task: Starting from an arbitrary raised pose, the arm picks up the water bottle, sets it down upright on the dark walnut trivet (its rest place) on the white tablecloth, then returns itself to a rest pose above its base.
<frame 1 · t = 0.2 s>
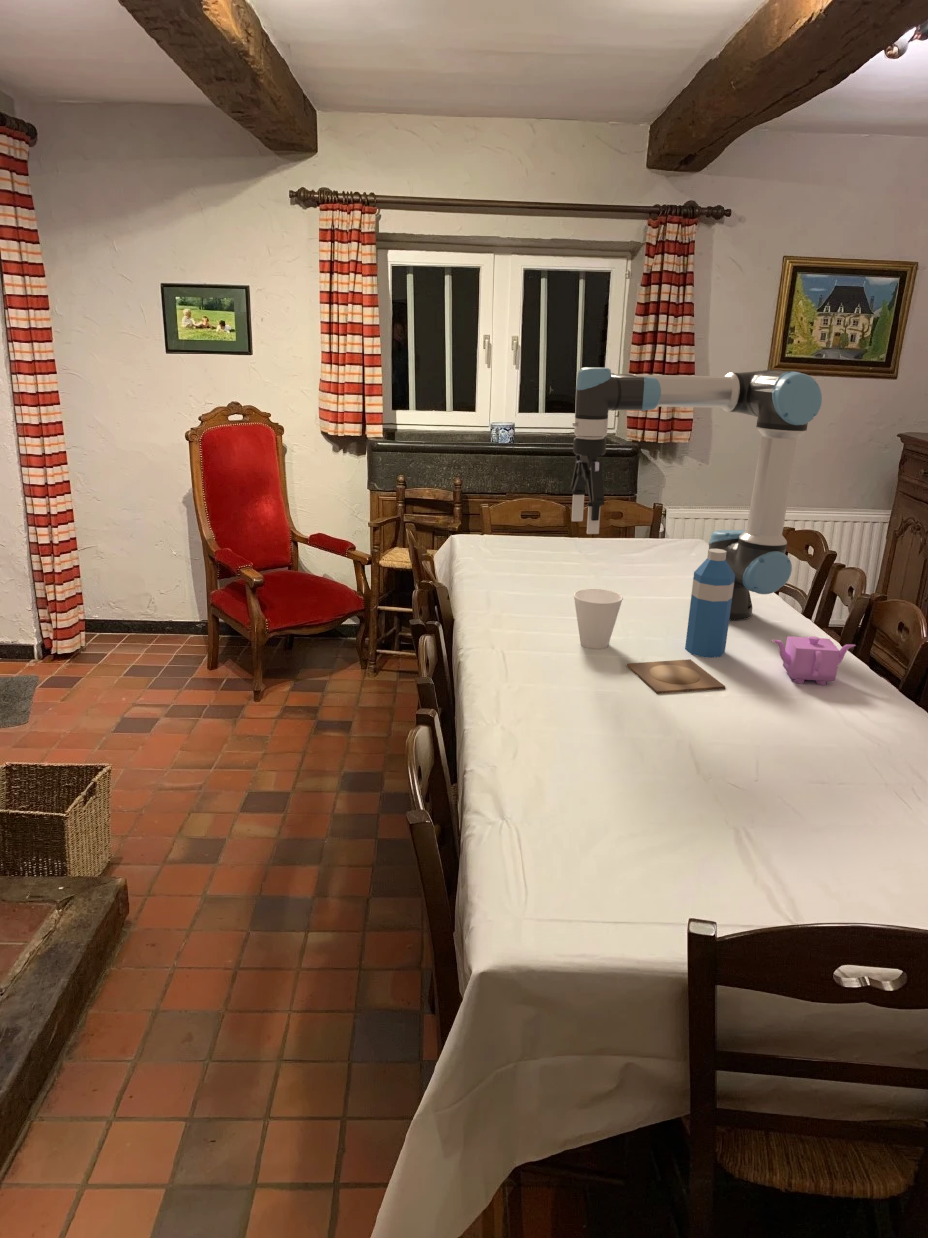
hand: (584, 527, 200), 28 cm above the table, fingers open, 13 cm apart
teapot: (806, 677, 189), on the table
walnut trivet: (674, 677, 187), on the table
water bottle: (704, 651, 203), on the table
cup: (594, 644, 206), on the table
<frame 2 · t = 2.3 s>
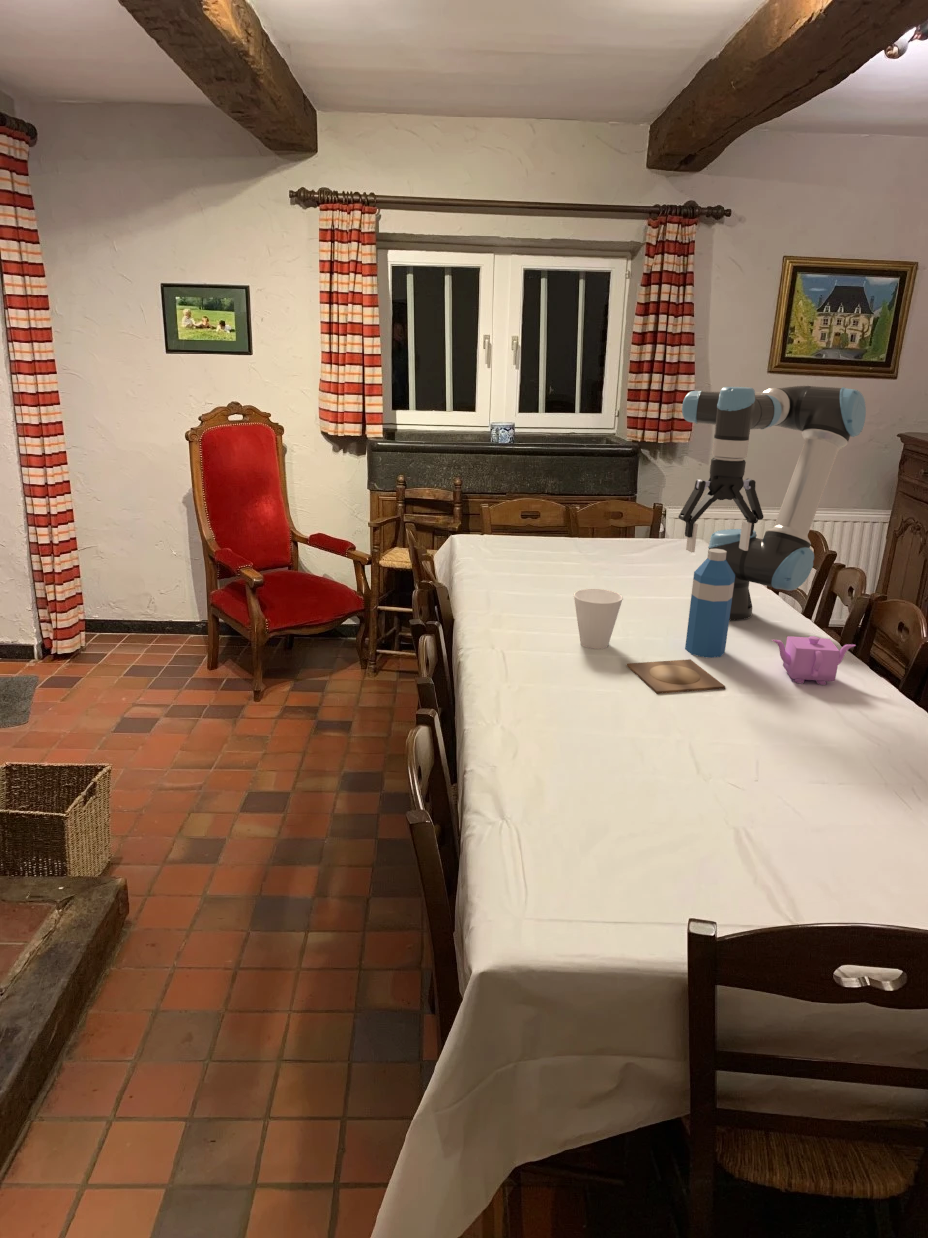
hand: (716, 550, 195), 25 cm above the table, fingers open, 13 cm apart
nothing on the table moved.
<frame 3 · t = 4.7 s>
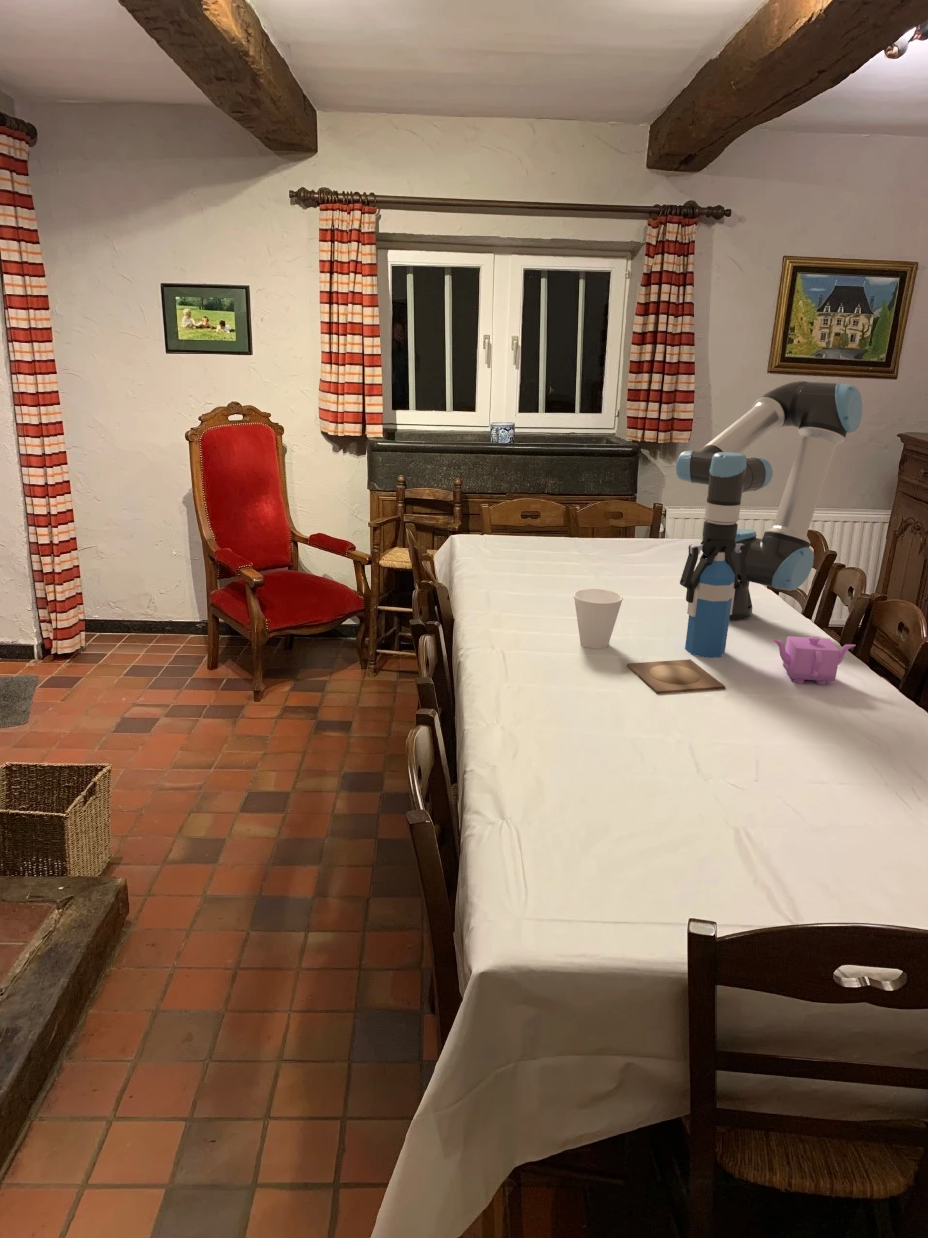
hand: (709, 614, 200), 9 cm above the table, fingers closed on water bottle, 9 cm apart
water bottle: (704, 651, 203), on the table, touching gripper
everything else where it was.
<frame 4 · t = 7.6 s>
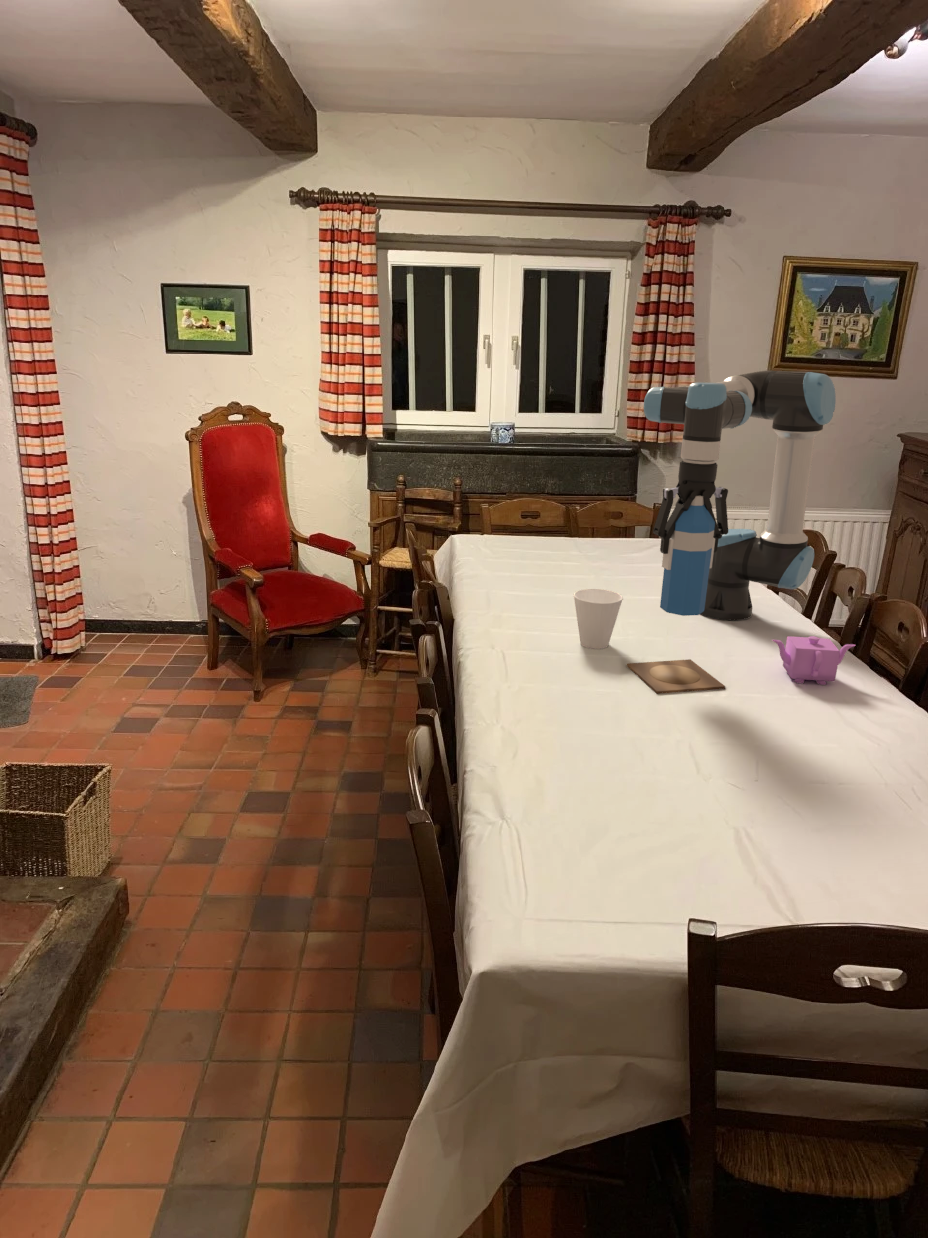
hand: (686, 567, 179), 25 cm above the table, fingers closed on water bottle, 9 cm apart
water bottle: (681, 609, 182), point 16 cm above the table, touching gripper
everything else where it was.
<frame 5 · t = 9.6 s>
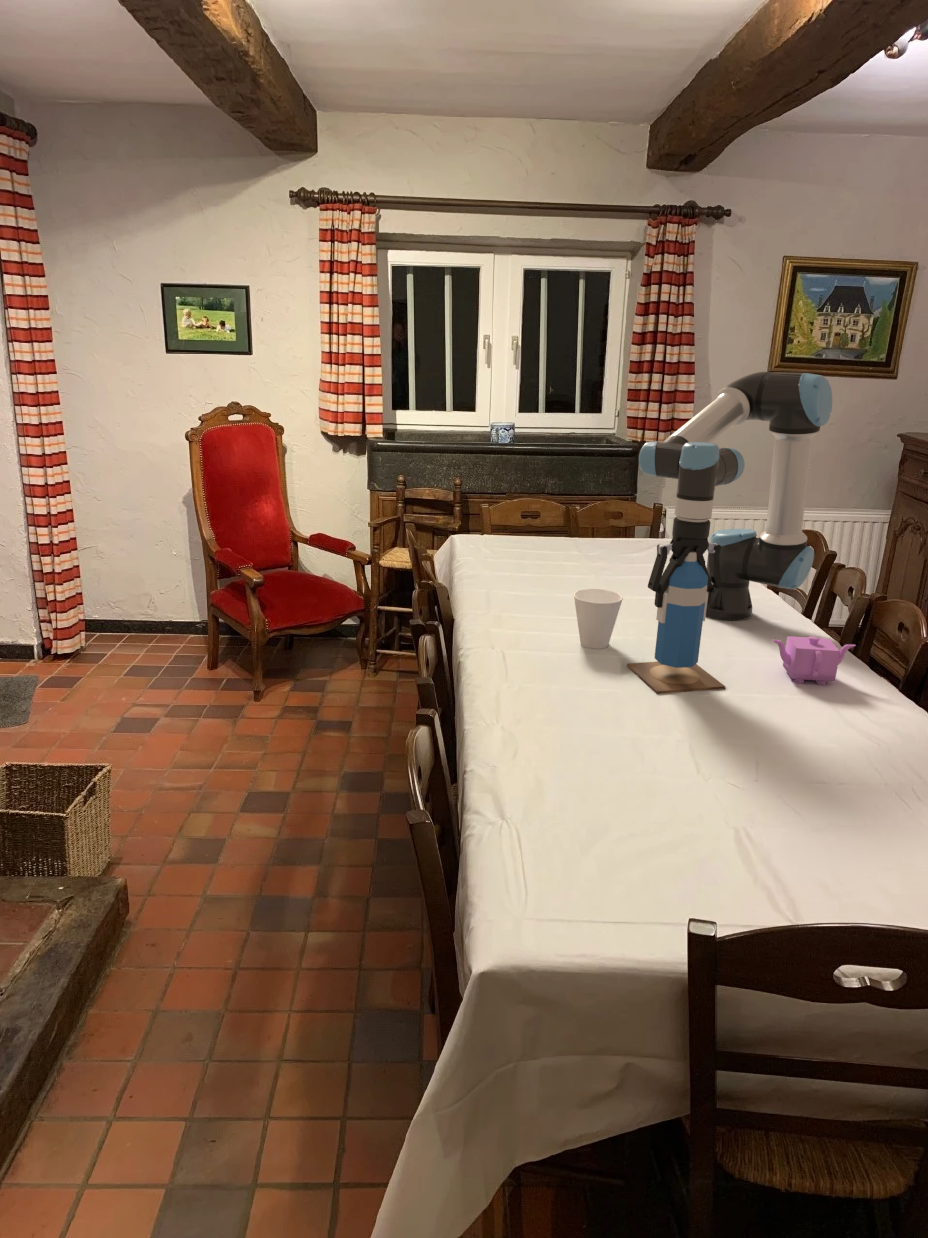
hand: (680, 620, 182), 13 cm above the table, fingers closed on water bottle, 9 cm apart
water bottle: (675, 661, 185), point 4 cm above the table, touching gripper
everything else where it was.
when the fingers open (11 cm above the table, at t = 11.0 s): water bottle stays where it is, resting on walnut trivet.
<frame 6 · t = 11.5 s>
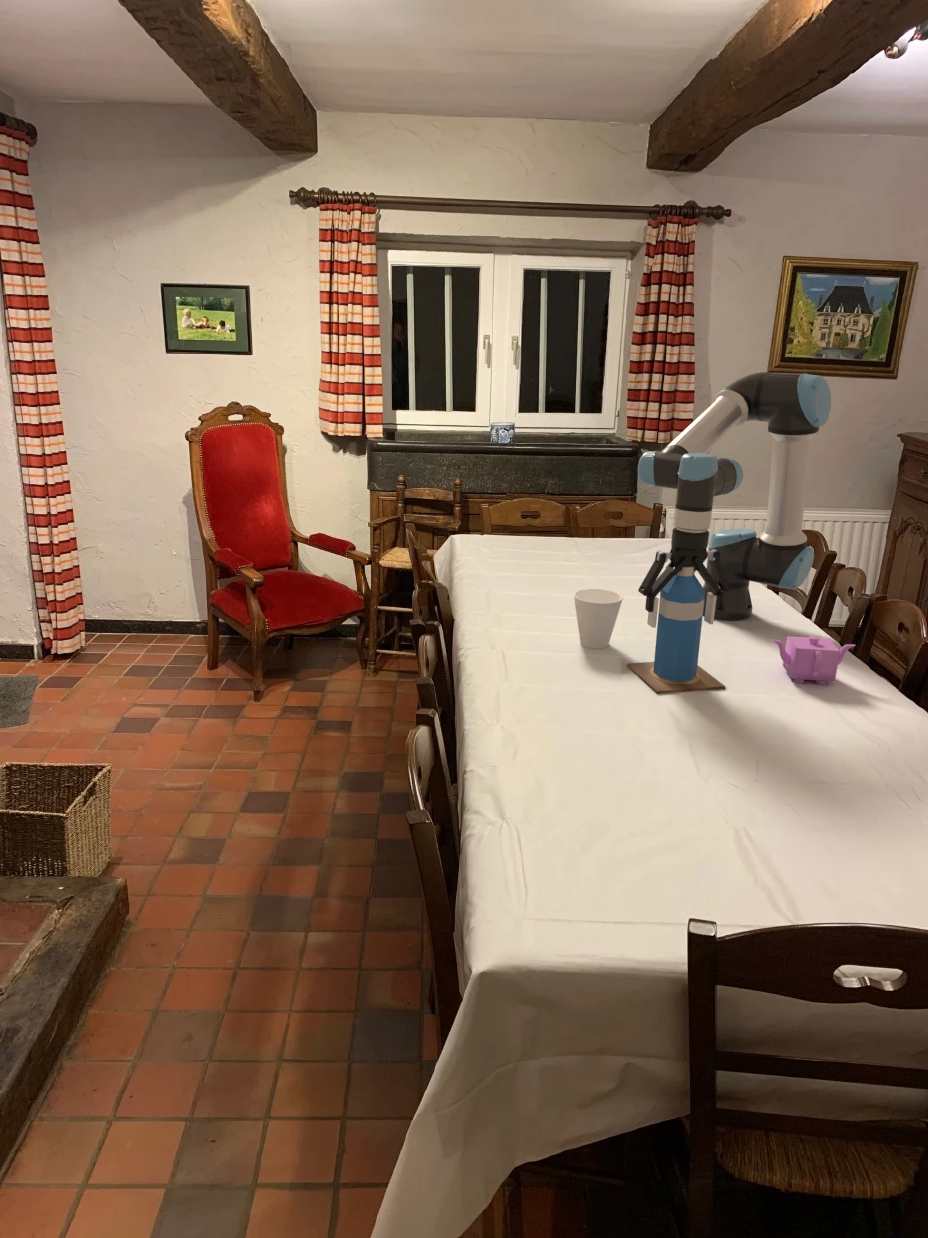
hand: (680, 624, 183), 13 cm above the table, fingers open, 13 cm apart
water bottle: (674, 674, 187), point 1 cm above the table, touching walnut trivet
everything else where it was.
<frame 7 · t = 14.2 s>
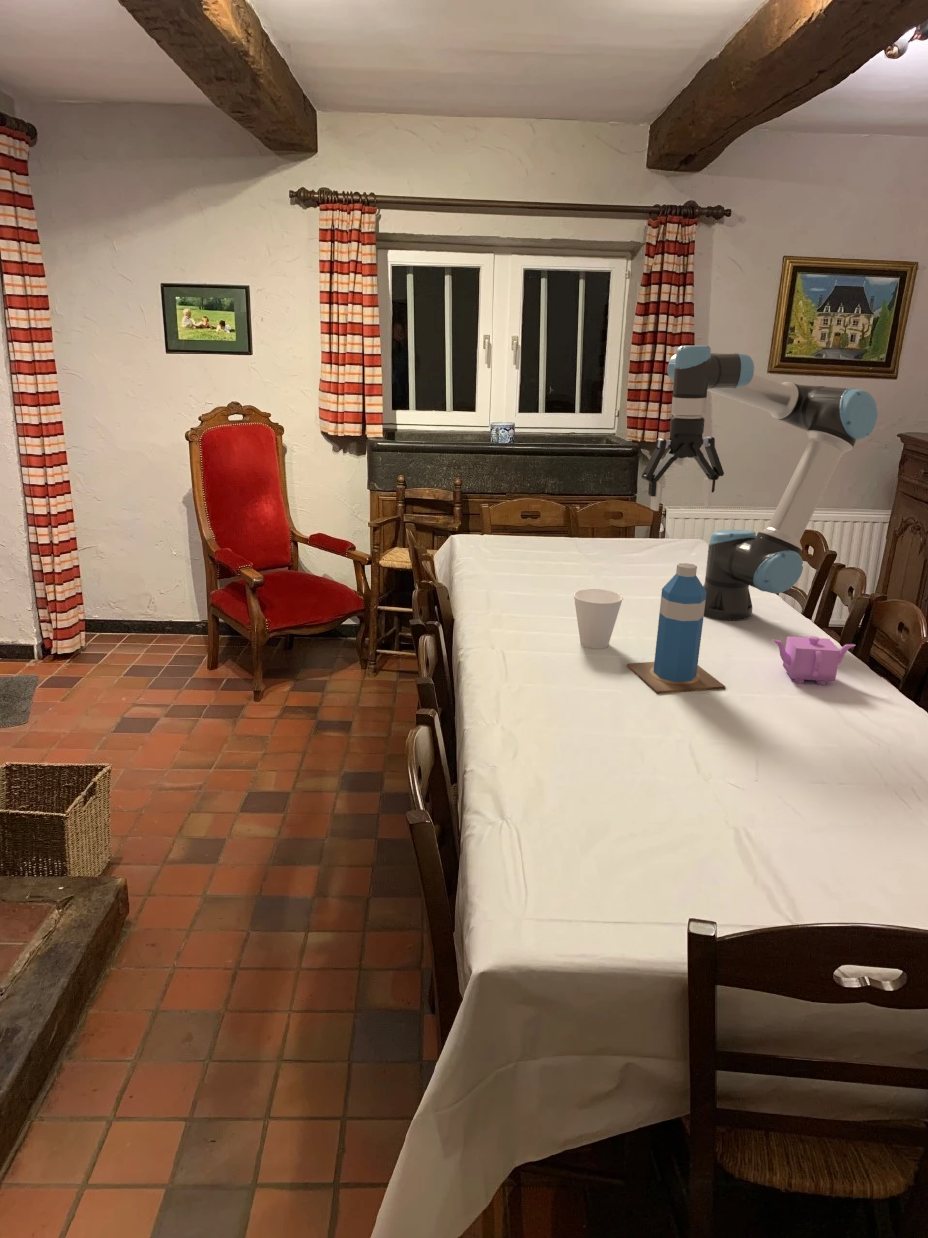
hand: (680, 508, 198), 33 cm above the table, fingers open, 13 cm apart
nothing on the table moved.
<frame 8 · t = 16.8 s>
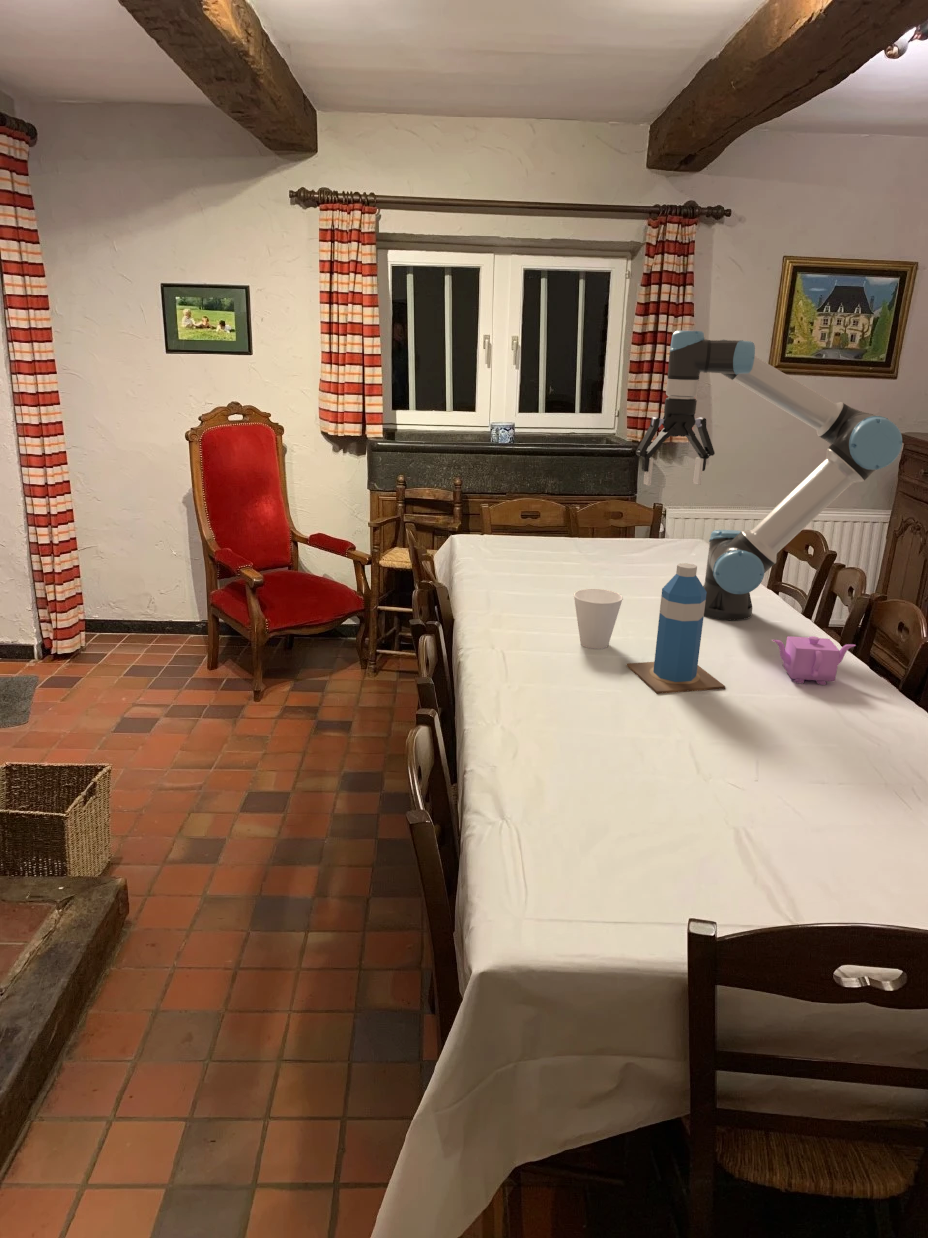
hand: (672, 484, 211), 37 cm above the table, fingers open, 13 cm apart
nothing on the table moved.
at the end: water bottle inside the target area (0.1 cm from its centre), point 0.5 cm above the table; water bottle tilted 0°; the gripper is holding nothing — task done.
